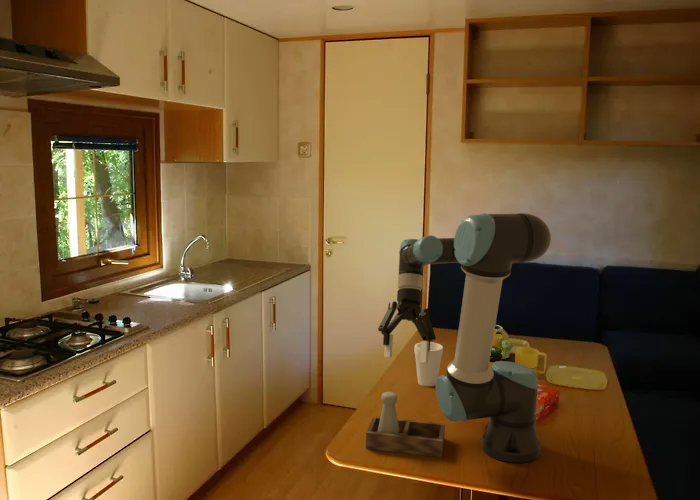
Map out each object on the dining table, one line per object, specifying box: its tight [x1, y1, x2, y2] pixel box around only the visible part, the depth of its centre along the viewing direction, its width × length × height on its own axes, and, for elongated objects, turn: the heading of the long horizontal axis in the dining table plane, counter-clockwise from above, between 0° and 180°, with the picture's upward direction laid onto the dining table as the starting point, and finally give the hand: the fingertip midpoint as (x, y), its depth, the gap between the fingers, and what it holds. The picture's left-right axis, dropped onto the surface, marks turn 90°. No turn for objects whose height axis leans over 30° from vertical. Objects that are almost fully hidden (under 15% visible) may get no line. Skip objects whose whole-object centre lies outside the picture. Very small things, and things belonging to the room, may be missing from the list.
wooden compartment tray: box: [365, 415, 446, 458], centre depth 166 cm, size 20×10×4 cm, turn 77°
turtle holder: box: [492, 324, 514, 360], centre depth 235 cm, size 12×18×12 cm
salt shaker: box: [378, 391, 399, 434], centre depth 166 cm, size 6×6×13 cm
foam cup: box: [414, 341, 444, 387], centre depth 209 cm, size 10×9×13 cm
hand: (406, 360), depth 182 cm, fingers open, 13 cm apart
